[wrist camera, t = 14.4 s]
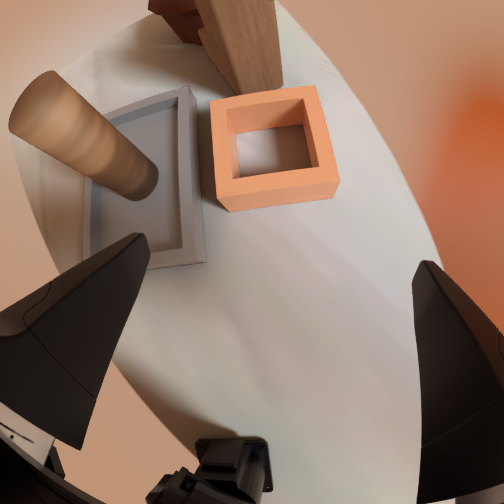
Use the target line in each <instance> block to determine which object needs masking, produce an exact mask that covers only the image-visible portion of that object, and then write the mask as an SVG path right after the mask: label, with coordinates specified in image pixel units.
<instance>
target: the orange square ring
mask: <svg viewBox="0 0 504 504" xmlns="http://www.w3.org/2000/svg"><path fill="white" fill-rule="evenodd" d="M210 111H211V127H212V142H213V156H214V169H215V181H216V193H217V199H218V200H219V201H220V202H221V203H222V205H223V206H224V207H225V208H226V209H227V210H228V211H229V212H235V211H242V210H249V209H255V208H262V207H269V206H276V205H284V204H291V203H299V202H306V201H314V200H322V199H331V198H333V196H334V194H335V192H336V190H337V187H338V185H339V183H340V179H339V174H338V169H337V165H336V161H335V156H334V152H333V148H332V144H331V140H330V136H329V132H328V128H327V125H326V121H325V117H324V114H323V110H322V107H321V103H320V100H319V97H318V93H317V90H316V87H315V86H303V87H293V88H285V89H277V90H270V91H263V92H256V93H250V94H245V95H239V96H234V97H229V98H224V99H219V100H214V101H210ZM298 124H303V127H304V132H305V136H306V141H307V145H308V150H309V155H310V160H311V164H312V168H306V169H298V170H290V171H282V172H275V173H268V174H262V175H255V176H249V177H243V178H240V169H239V160H238V151H237V142H236V134H238V133H243V132H249V131H255V130H261V129H268V128H275V127H282V126H290V125H298Z"/></svg>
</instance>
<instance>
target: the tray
mask: <svg viewBox="0 0 504 504" xmlns="http://www.w3.org/2000/svg"><path fill="white" fill-rule="evenodd" d="M102 116H103V117H105V118H106V119H107V120H108V121H109V122H110V123H111V124H112V125H113V126H114V127H115V128H116V129H118V130H119V131H120V132H121V133H122V134H123V135H124V136H125V137H126V138H127V139H128V140H129V141H130V142H132V143H133V144H134V145H135V146H136V147H137V148H138V149H139V150H140V151H141V152H142V153H143V154H144V155H146V156H147V157H148V158H149V159H150V160H151V161H152V162H153V163H154V164H155V165H156V167H157V169H158V172H159V179H158V183H157V186H156V187H155V189H154V191H153V192H152V193H151V194H150V195H149V196H148V197H147V198H145V199H143V200H140V201H130V200H128V199H126V198H124V197H123V196H121V195H119V194H117V193H115V192H114V191H112V190H110V189H108V188H106V187H105V186H103V185H101V184H99V183H98V182H96V181H94V180H92V179H91V178H89V177H87V176H85V181H84V195H83V218H82V254H83V261H84V260H86V259H87V258H89V257H91V256H92V255H94V254H96V253H97V252H99V251H101V250H103V249H104V248H106V247H108V246H110V245H111V244H113V243H115V242H117V241H118V240H120V239H122V238H124V237H126V236H127V235H129V234H131V233H133V232H137V233H144V234H145V235H146V238H147V242H148V245H149V249H150V252H151V257H150V261H149V264H148V267H147V269H146V270H151V269H159V268H167V267H175V266H182V265H190V264H198V263H206V262H207V260H206V250H205V238H204V227H203V214H202V201H201V186H200V170H199V151H198V129H197V100H196V98H195V97H194V95H193V93H192V91H191V89H190V88H189V86H186V87H182V88H179V89H175V90H172V91H169V92H165V93H162V94H159V95H156V96H153V97H150V98H147V99H144V100H141V101H138V102H135V103H132V104H130V105H127V106H124V107H122V108H119V109H117V110H114V111H112V112H109V113H107V114H104V115H102Z"/></svg>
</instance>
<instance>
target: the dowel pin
mask: <svg viewBox="0 0 504 504" xmlns="http://www.w3.org/2000/svg"><path fill="white" fill-rule="evenodd" d="M8 126H9V131H10V132H11V133H12V134H14V135H16V136H18V137H19V138H21V139H23V140H24V141H26V142H28V143H29V144H31V145H33V146H35V147H36V148H38V149H40V150H42V151H43V152H45V153H47V154H48V155H50V156H52V157H54V158H55V159H57V160H59V161H61V162H62V163H64V164H66V165H68V166H69V167H71V168H73V169H75V170H76V171H78V172H80V173H82V174H83V175H85V176H87V177H89V178H91V179H92V180H94V181H96V182H98V183H99V184H101V185H103V186H105V187H106V188H108V189H110V190H112V191H114V192H115V193H117V194H119V195H121V196H123V197H124V198H126V199H128V200H130V201H140V200H143V199H145V198H147V197H148V196H149V195H150V194H151V193H152V192H153V191H154V189H155V187H156V186H157V183H158V179H159V172H158V169H157V167H156V165H155V164H154V163H153V162H152V161H151V160H150V159H149V158H148V157H147V156H146V155H144V154H143V153H142V152H141V151H140V150H139V149H138V148H137V147H136V146H135V145H134V144H133V143H132V142H130V141H129V140H128V139H127V138H126V137H125V136H124V135H123V134H122V133H121V132H120V131H119V130H118V129H116V128H115V127H114V126H113V125H112V124H111V123H110V122H109V121H108V120H107V119H106V118H105V117H103V116H102V115H101V114H100V113H99V112H98V111H97V110H96V109H95V108H94V107H93V106H92V105H91V104H90V103H88V102H87V101H86V100H85V99H84V98H83V97H82V96H81V95H80V94H79V93H78V92H77V91H76V90H74V89H73V88H72V87H71V86H70V85H69V84H68V83H67V82H66V81H65V80H64V79H63V78H62V77H60V76H59V75H58V74H57V73H56V72H55V71H47V72H45V73H43V74H41V75H40V76H38V77H37V78H36V79H35V80H33V81H32V82H31V83H30V84H29V85H28V87H27V88H26V89H25V90H24V91H23V93H22V94H21V95H20V97H19V98H18V100H17V102H16V104H15V106H14V108H13V110H12V112H11V115H10V118H9V125H8Z"/></svg>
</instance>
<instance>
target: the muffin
mask: <svg viewBox="0 0 504 504" xmlns="http://www.w3.org/2000/svg"><path fill="white" fill-rule="evenodd" d="M148 10H150V11H152V12H153V13H155V14H157V15H161V16H162V17H163V18H164V19H165V21H166V22H167V23H168V24H169V25H170V27H171V28H172V29H173V30H174V31H175V33H176V34H177V35H178V36H179V37H180V39H181V40H182V41H183V42H184V43H192V44H197V45H201V46H203V44H202V42H201V39H200V37H199V35H198V30H199V29H201V28H203V27H204V24H203V21H202V19H201V16H200V14H199V11H198V9H197V6H196V4H195V2H194V0H149V4H148Z"/></svg>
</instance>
